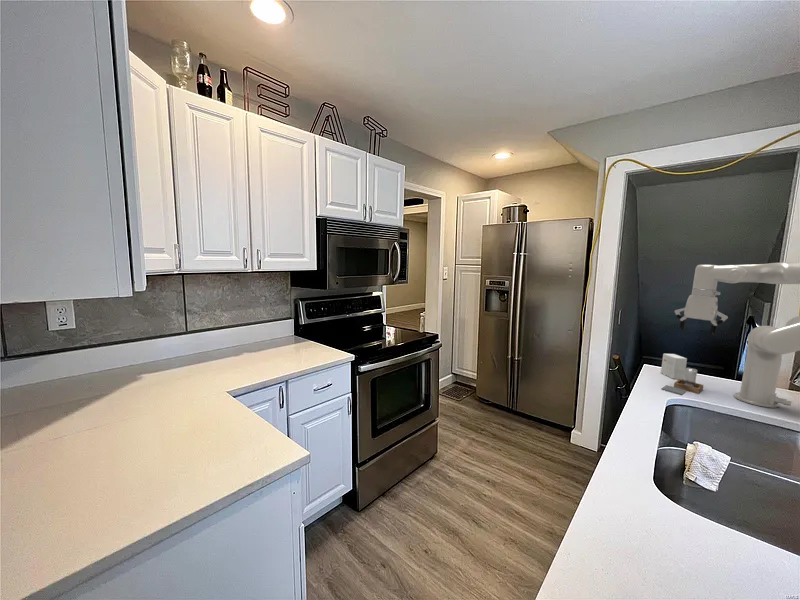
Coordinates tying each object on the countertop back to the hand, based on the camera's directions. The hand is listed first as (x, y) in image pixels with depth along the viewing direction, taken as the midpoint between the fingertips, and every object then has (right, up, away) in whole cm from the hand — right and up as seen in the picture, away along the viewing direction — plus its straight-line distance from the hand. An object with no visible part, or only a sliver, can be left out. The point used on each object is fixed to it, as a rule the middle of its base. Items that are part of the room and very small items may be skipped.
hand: (696, 331), depth 143 cm
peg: (-1, -26, +3) cm, 26 cm away
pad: (-10, -26, 0) cm, 28 cm away
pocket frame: (-1, -26, +3) cm, 26 cm away
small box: (+5, -24, +19) cm, 31 cm away
